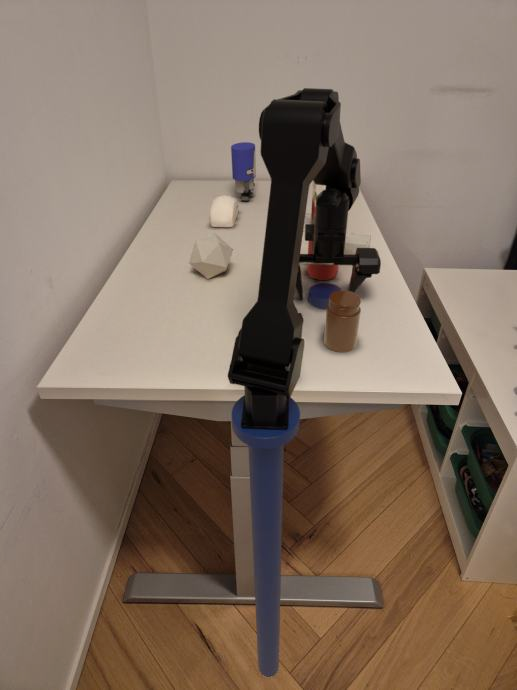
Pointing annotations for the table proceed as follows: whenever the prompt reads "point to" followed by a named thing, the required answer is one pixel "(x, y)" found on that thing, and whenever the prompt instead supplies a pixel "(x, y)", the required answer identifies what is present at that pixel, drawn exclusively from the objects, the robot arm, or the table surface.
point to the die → (210, 255)
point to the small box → (356, 243)
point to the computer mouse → (223, 211)
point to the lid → (321, 294)
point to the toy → (244, 168)
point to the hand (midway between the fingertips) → (324, 299)
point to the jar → (342, 321)
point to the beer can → (320, 267)
